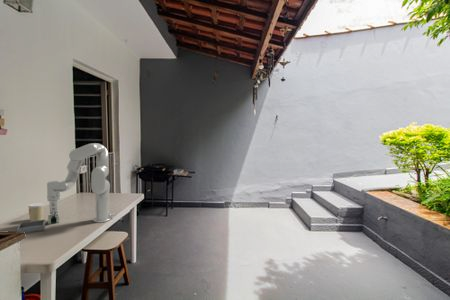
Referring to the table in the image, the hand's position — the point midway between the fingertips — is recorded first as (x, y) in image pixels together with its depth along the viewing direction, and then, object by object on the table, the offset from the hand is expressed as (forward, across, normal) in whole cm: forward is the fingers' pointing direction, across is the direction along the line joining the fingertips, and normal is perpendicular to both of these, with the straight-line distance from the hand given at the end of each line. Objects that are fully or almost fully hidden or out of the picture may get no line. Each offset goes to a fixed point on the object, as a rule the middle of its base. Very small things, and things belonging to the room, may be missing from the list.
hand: (53, 221), depth 177 cm
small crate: (+1, 0, 0) cm, 1 cm away
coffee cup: (+1, +12, +11) cm, 16 cm away
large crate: (+1, -9, +12) cm, 15 cm away
